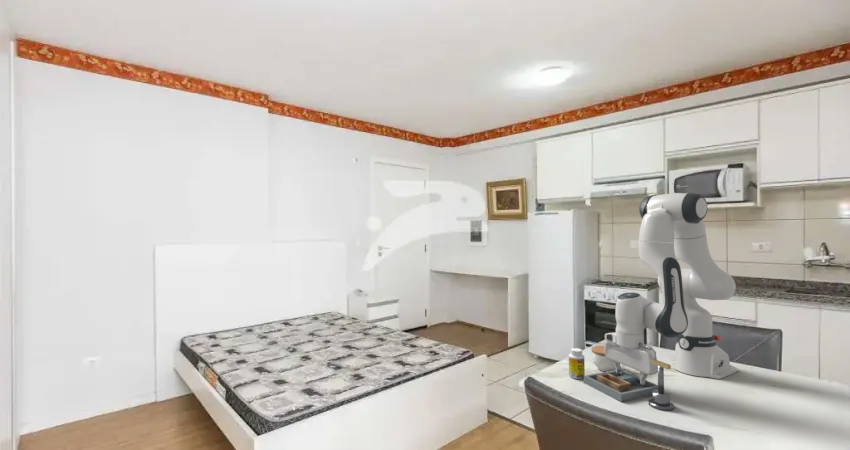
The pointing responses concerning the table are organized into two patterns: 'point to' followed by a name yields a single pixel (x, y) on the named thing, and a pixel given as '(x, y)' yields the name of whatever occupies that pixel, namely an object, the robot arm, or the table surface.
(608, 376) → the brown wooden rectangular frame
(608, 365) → the lidded jar
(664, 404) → the plunger
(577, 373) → the supplement bottle
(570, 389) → the table surface
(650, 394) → the tray
